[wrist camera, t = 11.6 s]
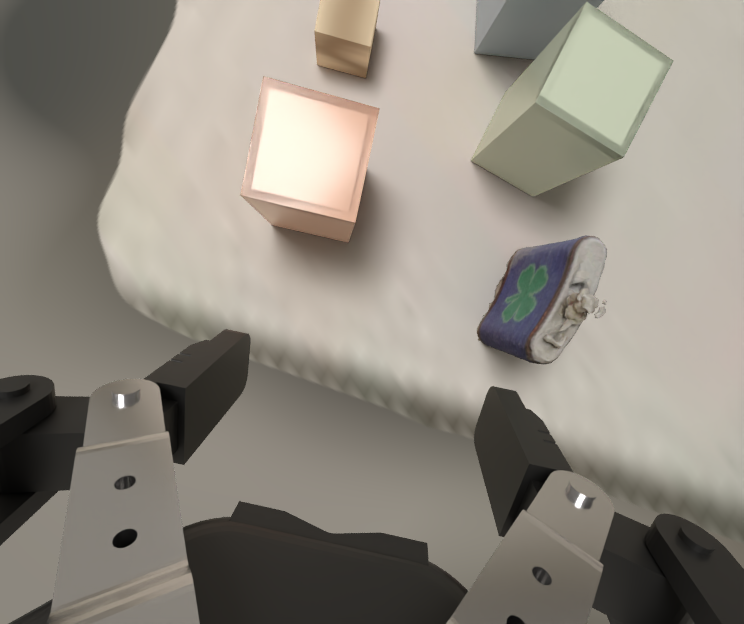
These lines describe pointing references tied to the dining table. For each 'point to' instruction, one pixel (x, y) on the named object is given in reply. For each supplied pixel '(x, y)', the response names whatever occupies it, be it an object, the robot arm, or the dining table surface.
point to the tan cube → (346, 34)
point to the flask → (544, 299)
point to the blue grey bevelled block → (521, 25)
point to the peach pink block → (308, 159)
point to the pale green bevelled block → (573, 105)
